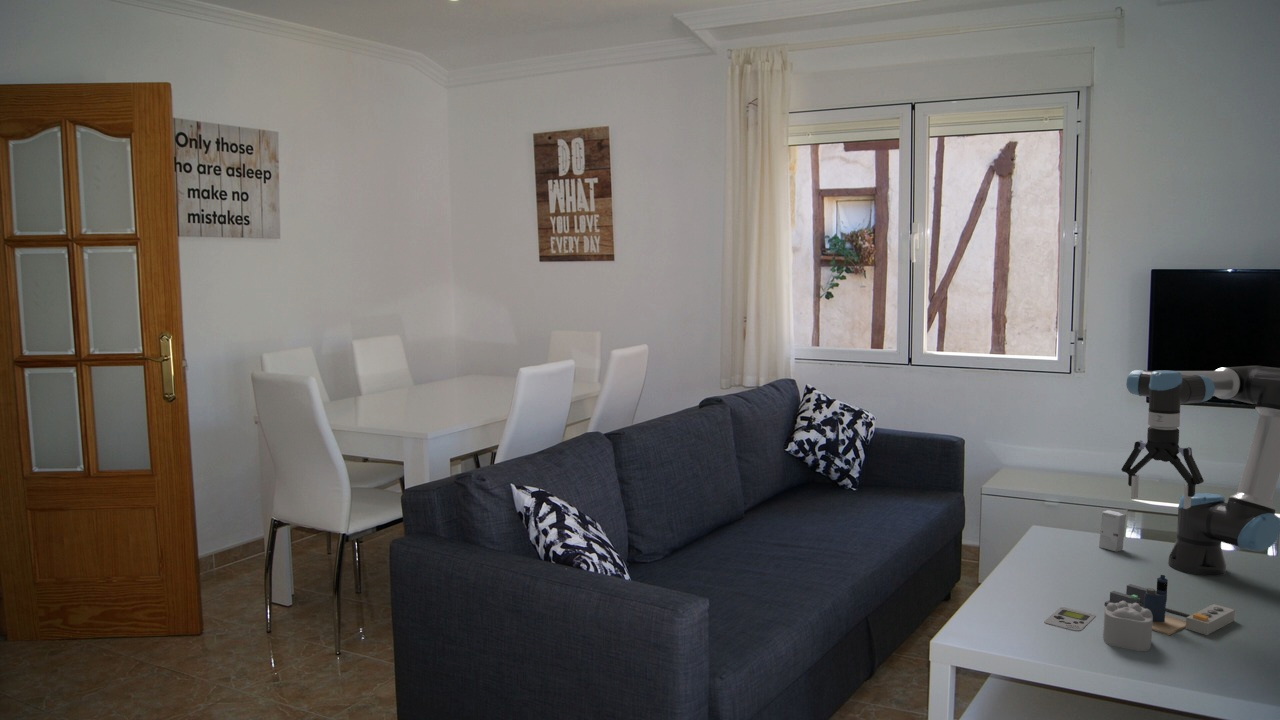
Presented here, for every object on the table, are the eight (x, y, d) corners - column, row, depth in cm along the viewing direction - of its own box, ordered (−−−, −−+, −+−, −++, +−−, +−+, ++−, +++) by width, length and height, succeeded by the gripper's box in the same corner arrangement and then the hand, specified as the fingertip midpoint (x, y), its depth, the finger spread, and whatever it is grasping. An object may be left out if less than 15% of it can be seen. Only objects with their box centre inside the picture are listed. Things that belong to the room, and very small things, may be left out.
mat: (1142, 610, 242) (1142, 608, 242) (1190, 624, 232) (1190, 622, 232) (1120, 620, 235) (1120, 618, 235) (1168, 635, 225) (1169, 633, 225)
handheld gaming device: (1043, 621, 233) (1061, 605, 244) (1043, 624, 233) (1061, 608, 244) (1079, 630, 227) (1096, 614, 238) (1079, 633, 227) (1096, 616, 238)
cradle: (1124, 596, 252) (1125, 580, 252) (1205, 619, 235) (1206, 602, 235) (1104, 605, 246) (1105, 588, 245) (1186, 629, 229) (1187, 612, 228)
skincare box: (1098, 547, 297) (1100, 511, 296) (1105, 545, 300) (1107, 509, 298) (1117, 552, 292) (1119, 515, 291) (1124, 549, 295) (1126, 513, 293)
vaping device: (1167, 622, 232) (1170, 577, 231) (1145, 621, 233) (1148, 576, 232) (1162, 618, 235) (1165, 574, 233) (1141, 617, 235) (1144, 573, 234)
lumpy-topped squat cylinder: (1101, 644, 220) (1103, 609, 219) (1104, 626, 231) (1106, 593, 230) (1150, 653, 215) (1153, 618, 214) (1151, 634, 226) (1153, 601, 225)
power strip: (1212, 614, 239) (1213, 601, 239) (1233, 620, 235) (1234, 606, 235) (1185, 628, 230) (1186, 614, 229) (1207, 635, 226) (1208, 620, 225)
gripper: (1110, 423, 254) (1107, 496, 257) (1208, 435, 234) (1204, 514, 237) (1122, 419, 259) (1119, 491, 261) (1219, 431, 239) (1215, 509, 241)
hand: (1160, 502), depth 249 cm, fingers open, 13 cm apart
